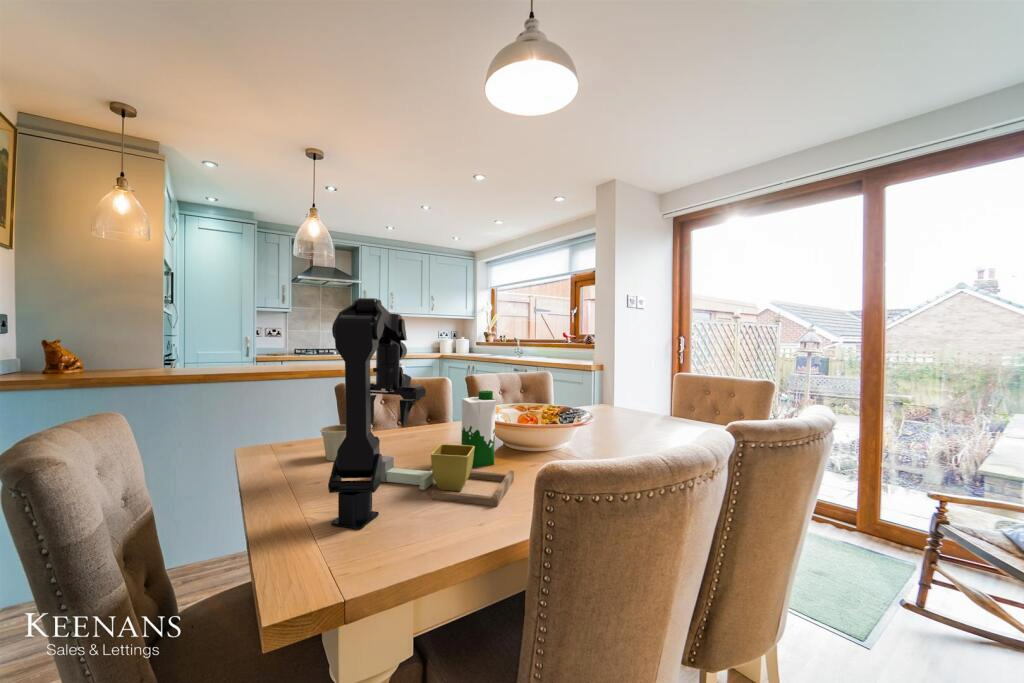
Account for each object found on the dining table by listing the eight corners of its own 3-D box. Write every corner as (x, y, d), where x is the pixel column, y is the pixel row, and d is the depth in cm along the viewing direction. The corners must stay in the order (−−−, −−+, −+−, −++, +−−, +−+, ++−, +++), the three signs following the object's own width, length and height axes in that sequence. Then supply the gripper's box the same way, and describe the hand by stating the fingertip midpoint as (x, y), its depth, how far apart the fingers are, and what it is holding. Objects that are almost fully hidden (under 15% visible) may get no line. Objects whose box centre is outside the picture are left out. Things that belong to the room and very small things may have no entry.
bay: (497, 506, 87) (497, 494, 87) (431, 498, 90) (431, 487, 90) (513, 480, 102) (513, 470, 102) (456, 475, 105) (456, 465, 105)
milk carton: (498, 465, 114) (499, 393, 113) (467, 469, 110) (468, 395, 110) (486, 456, 122) (487, 389, 121) (457, 459, 118) (458, 390, 118)
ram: (424, 490, 95) (424, 468, 95) (365, 483, 98) (365, 462, 98) (438, 478, 103) (438, 458, 102) (383, 472, 106) (383, 453, 106)
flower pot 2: (474, 481, 101) (475, 445, 101) (467, 495, 93) (468, 455, 92) (440, 479, 102) (440, 443, 102) (429, 493, 94) (430, 454, 93)
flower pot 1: (322, 454, 121) (322, 425, 121) (356, 452, 124) (356, 423, 124) (317, 464, 112) (317, 433, 112) (354, 461, 115) (354, 431, 115)
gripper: (435, 362, 110) (434, 420, 110) (374, 360, 115) (373, 416, 115) (415, 365, 99) (414, 429, 99) (348, 363, 104) (348, 424, 104)
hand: (387, 424), depth 105 cm, fingers open, 9 cm apart
